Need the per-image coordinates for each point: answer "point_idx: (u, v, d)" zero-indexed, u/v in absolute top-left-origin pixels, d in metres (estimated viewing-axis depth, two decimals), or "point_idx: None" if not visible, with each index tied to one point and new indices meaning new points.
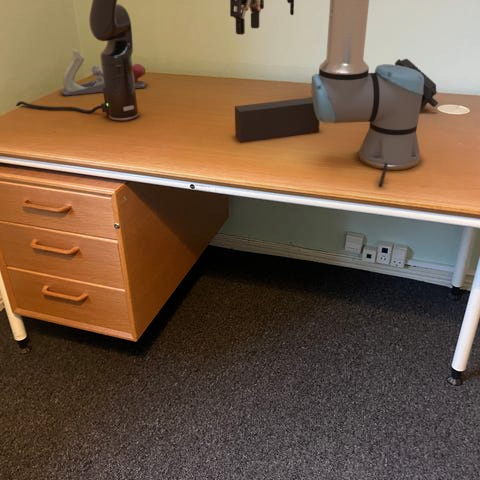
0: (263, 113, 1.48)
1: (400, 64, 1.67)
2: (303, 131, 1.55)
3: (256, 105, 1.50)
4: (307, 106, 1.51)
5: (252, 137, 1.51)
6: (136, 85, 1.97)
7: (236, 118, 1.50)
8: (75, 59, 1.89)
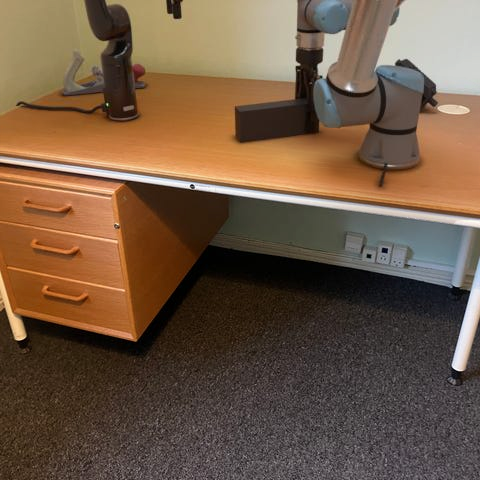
0: (263, 113, 1.48)
1: (400, 64, 1.67)
2: (303, 131, 1.55)
3: (256, 105, 1.50)
4: None
5: (252, 137, 1.51)
6: (136, 85, 1.97)
7: (236, 118, 1.50)
8: (75, 59, 1.89)
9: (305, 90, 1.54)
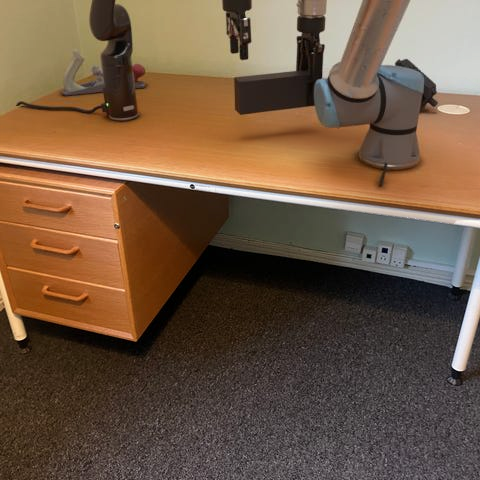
0: (263, 84, 1.44)
1: (400, 64, 1.67)
2: (305, 104, 1.51)
3: (256, 76, 1.46)
4: None
5: (252, 109, 1.46)
6: (136, 85, 1.97)
7: (236, 90, 1.46)
8: (75, 59, 1.89)
9: (306, 61, 1.49)
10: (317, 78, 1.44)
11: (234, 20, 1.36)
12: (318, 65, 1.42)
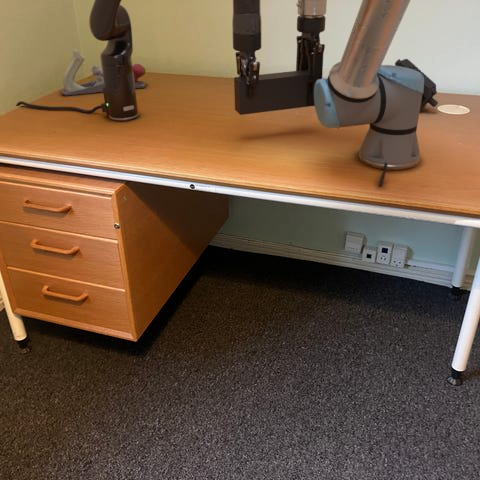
0: (263, 84, 1.44)
1: (400, 64, 1.67)
2: (305, 104, 1.51)
3: None
4: None
5: (252, 109, 1.47)
6: (136, 85, 1.97)
7: (236, 90, 1.46)
8: (75, 59, 1.89)
9: (306, 61, 1.49)
10: (317, 78, 1.44)
11: (244, 59, 1.40)
12: (318, 65, 1.42)
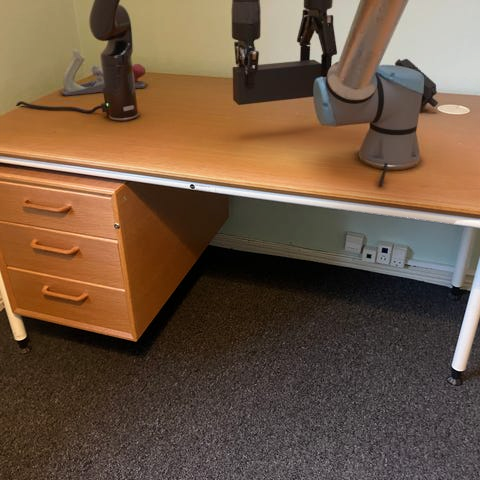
0: (261, 74, 1.43)
1: (400, 64, 1.67)
2: (303, 94, 1.50)
3: None
4: (308, 68, 1.46)
5: (250, 99, 1.46)
6: (136, 85, 1.97)
7: (234, 79, 1.45)
8: (75, 59, 1.89)
9: (309, 35, 1.48)
10: (332, 50, 1.37)
11: (243, 49, 1.39)
12: (331, 37, 1.37)
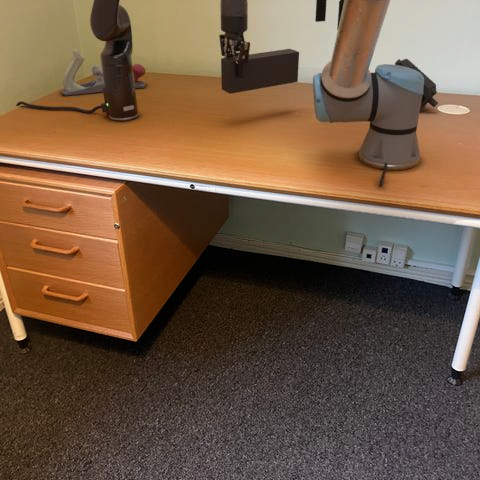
0: (249, 64, 1.54)
1: (400, 64, 1.67)
2: (284, 81, 1.63)
3: None
4: (288, 56, 1.59)
5: (240, 88, 1.56)
6: (136, 85, 1.97)
7: (224, 70, 1.54)
8: (75, 59, 1.89)
9: None
10: None
11: (233, 40, 1.48)
12: None
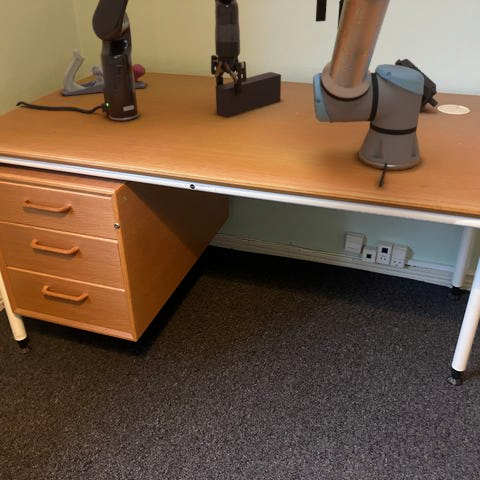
0: (242, 89, 1.69)
1: (400, 64, 1.67)
2: (270, 101, 1.79)
3: (233, 83, 1.70)
4: (272, 79, 1.76)
5: (234, 111, 1.70)
6: (136, 85, 1.97)
7: (219, 96, 1.68)
8: (75, 59, 1.89)
9: None
10: None
11: (228, 63, 1.62)
12: None
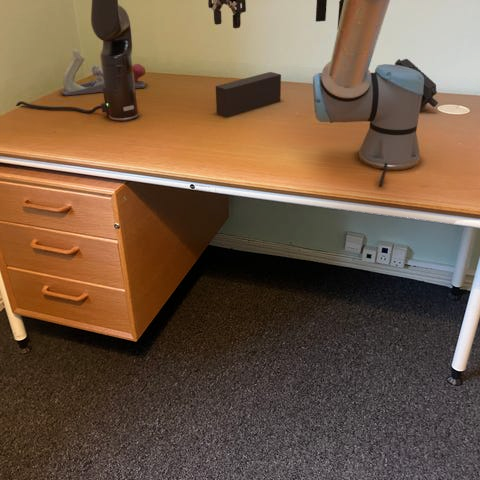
0: (242, 89, 1.69)
1: (400, 64, 1.67)
2: (270, 101, 1.79)
3: (233, 83, 1.70)
4: (272, 79, 1.76)
5: (234, 111, 1.70)
6: (136, 85, 1.97)
7: (219, 96, 1.68)
8: (75, 59, 1.89)
9: None
10: None
11: None
12: None
